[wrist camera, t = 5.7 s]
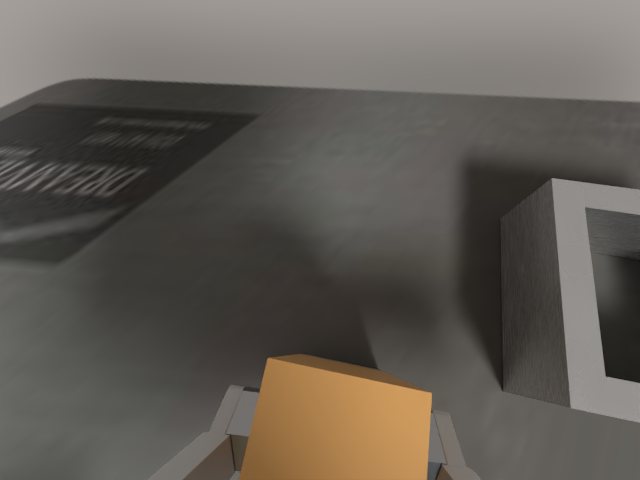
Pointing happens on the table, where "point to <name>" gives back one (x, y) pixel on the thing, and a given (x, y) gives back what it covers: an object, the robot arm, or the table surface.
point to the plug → (336, 423)
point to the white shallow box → (564, 294)
